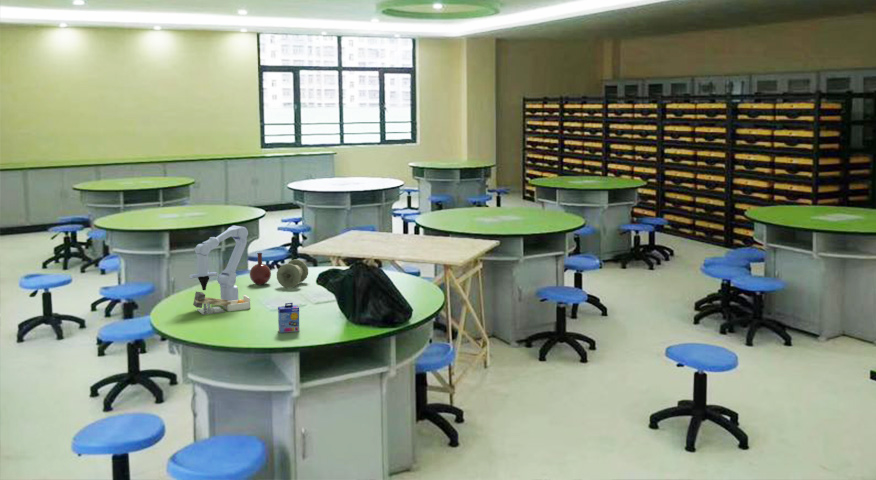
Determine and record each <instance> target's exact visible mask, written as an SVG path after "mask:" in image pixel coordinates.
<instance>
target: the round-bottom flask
mask: <svg viewBox="0 0 876 480" xmlns="http://www.w3.org/2000/svg"><path fill="white" fill-rule="evenodd" d="M256 255H257V264H255V265H253V266H252V267H251V269H250V270H249V277H250V280H251V282H253V284H255V285H260V286H261V285H266V284H267V283H268V282H269V281H270V280H271V276H272V272H271V269H270V268H269V265H266V264H264V263H263V253H262V252H257V253H256Z"/></svg>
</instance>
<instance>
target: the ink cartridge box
mask: <svg viewBox="0 0 876 480" xmlns="http://www.w3.org/2000/svg"><path fill="white" fill-rule="evenodd" d="M277 313H278V314H277V317H278V322H277V323H278V332H279V334H284V333H285V334H286V333H292V332H293V333H296V332H300V307H299V306H298V305H296V304H294V303H293V302H287V303H285V304H284V305H281V306H278V307H277Z"/></svg>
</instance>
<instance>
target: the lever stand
mask: <svg viewBox="0 0 876 480" xmlns="http://www.w3.org/2000/svg"><path fill="white" fill-rule="evenodd" d="M202 306H203V308H196V311H197V312H198V313H199V312H200V313H201V314H200V313H199V314H200V315H202V316H206V315H207V314H208V315H214V314H223V313H226V310H225V309H224V308H221V307H220V306H213V307H211V304H210V303H207V304H204V303H203V305H202Z"/></svg>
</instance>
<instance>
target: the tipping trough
mask: <svg viewBox="0 0 876 480" xmlns="http://www.w3.org/2000/svg"><path fill="white" fill-rule="evenodd" d="M203 303H204V304H206V305H207V303H210V305H212V306H222V307H223V306H227V305H230V304H231V302H228V300H223V299H221V298H216V297H215V298H212V297H206V294H205V293H204V292H202V291H195V294H194V298H193V304H192V305H193V306H194V307H195V308H197V309H203V306H204V305H203Z"/></svg>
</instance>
